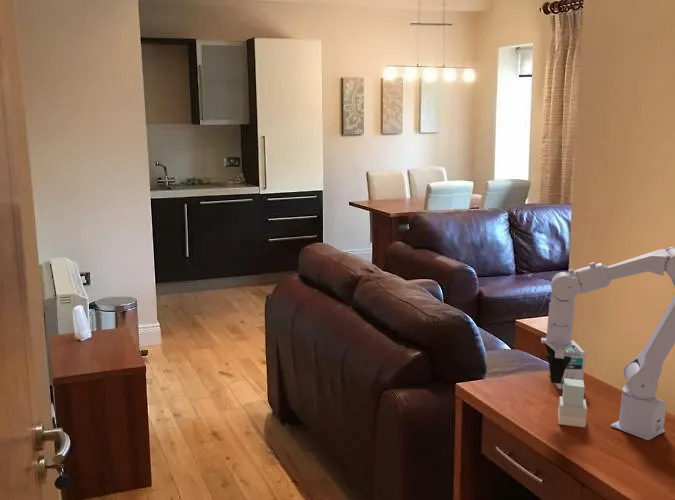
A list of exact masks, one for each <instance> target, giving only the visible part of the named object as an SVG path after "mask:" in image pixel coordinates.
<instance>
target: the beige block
mask: <svg viewBox="0 0 675 500" xmlns="http://www.w3.org/2000/svg"><path fill="white" fill-rule="evenodd" d="M558 399H559V400H558V407H559V414H560V416H567V417H575V418H583V419H586V420H587V412H588V407H587V401H586V398H583V407H578V406H570V405H563V400H562V395H561V396H559V398H558Z"/></svg>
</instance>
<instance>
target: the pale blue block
mask: <svg viewBox="0 0 675 500" xmlns="http://www.w3.org/2000/svg"><path fill="white" fill-rule="evenodd" d="M585 387H586V386H585V383H584V379H583V380H575V379H566V378H564V384H563V389H562V395H561V396H562V400H563V405H570V406H578V407H583V399H585Z"/></svg>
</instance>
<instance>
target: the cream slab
mask: <svg viewBox="0 0 675 500" xmlns="http://www.w3.org/2000/svg"><path fill="white" fill-rule="evenodd" d="M557 418H558V424H559V425H565V426H572V427H579V428H580V427H581V428H586V423H587V418H586V419H583V418H575V417H567V416H560V414H559V406H558V409H557Z"/></svg>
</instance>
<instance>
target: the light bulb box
mask: <svg viewBox="0 0 675 500" xmlns="http://www.w3.org/2000/svg"><path fill="white" fill-rule="evenodd" d="M571 342H572V345H571V347H570V348H568V349H567V350H566V352H565V354H564V356H569V357H571V361H570V363H569V364H568V365H567V367H566V369H565V372H564V375H563V378H562V381H561V383H560V384H558V383H554V384H555V386H556V388H558V390H563V384H564V378H566V379H575V380H583V381H584V376H585V365H586V356H587V354H586V353H587V352H586V351H585V350H584V349H583V348H582V347H581V346H580V345H579V344H578V343H577V342H576V341H575V340H572V339H571ZM548 371H549V372H548V376H549V377H550V369H548Z"/></svg>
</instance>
